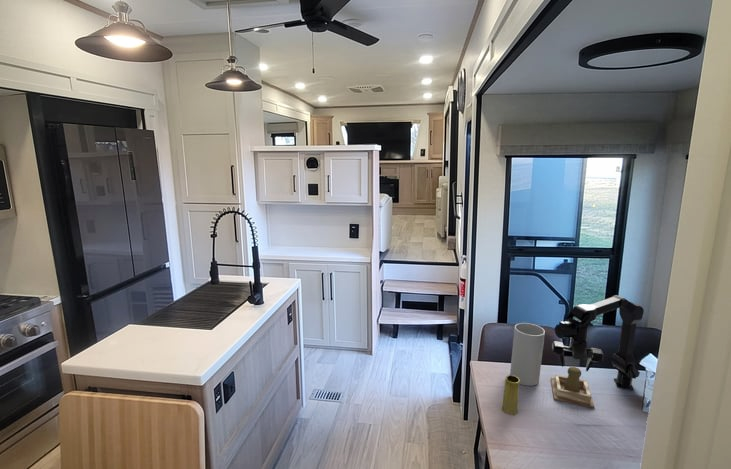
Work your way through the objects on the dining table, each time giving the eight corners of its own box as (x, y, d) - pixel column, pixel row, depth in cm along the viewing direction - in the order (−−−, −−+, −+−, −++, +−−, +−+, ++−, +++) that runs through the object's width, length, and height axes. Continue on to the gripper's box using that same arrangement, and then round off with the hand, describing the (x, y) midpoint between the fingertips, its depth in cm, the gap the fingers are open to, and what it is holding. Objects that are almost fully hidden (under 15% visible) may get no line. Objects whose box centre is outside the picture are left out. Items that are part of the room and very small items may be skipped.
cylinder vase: (509, 382, 172) (514, 332, 166) (510, 368, 183) (515, 321, 178) (539, 389, 167) (545, 337, 162) (538, 374, 178) (544, 325, 173)
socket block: (550, 379, 174) (551, 371, 174) (587, 386, 169) (588, 378, 168) (553, 399, 160) (554, 391, 159) (594, 408, 155) (595, 400, 154)
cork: (581, 396, 161) (585, 373, 158) (566, 394, 162) (569, 371, 160) (576, 388, 167) (580, 365, 164) (562, 386, 168) (565, 364, 165)
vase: (517, 407, 155) (521, 376, 152) (517, 416, 149) (520, 385, 146) (502, 403, 157) (505, 373, 154) (500, 412, 152) (503, 381, 149)
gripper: (556, 339, 155) (552, 373, 158) (609, 348, 148) (603, 384, 151) (554, 328, 165) (549, 360, 168) (603, 336, 158) (597, 369, 161)
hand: (574, 368), depth 162 cm, fingers open, 9 cm apart
